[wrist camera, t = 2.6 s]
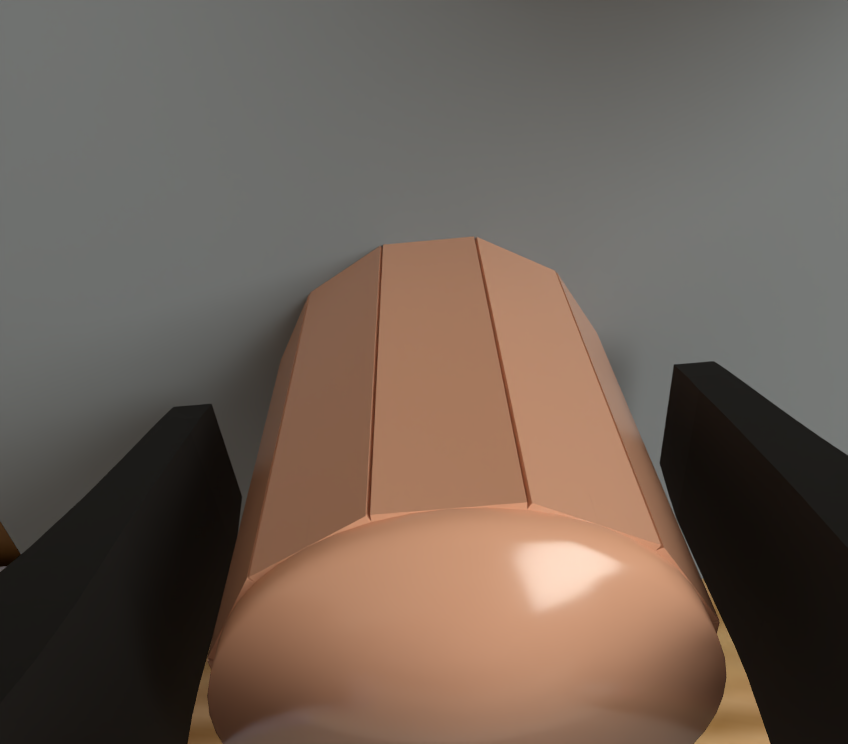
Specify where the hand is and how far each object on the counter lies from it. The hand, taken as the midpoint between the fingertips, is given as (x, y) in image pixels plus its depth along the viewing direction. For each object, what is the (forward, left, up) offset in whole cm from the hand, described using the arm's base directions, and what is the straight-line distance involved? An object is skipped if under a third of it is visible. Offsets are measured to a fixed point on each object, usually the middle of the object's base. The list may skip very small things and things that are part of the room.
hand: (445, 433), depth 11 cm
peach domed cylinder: (0, 0, -1) cm, 1 cm away
